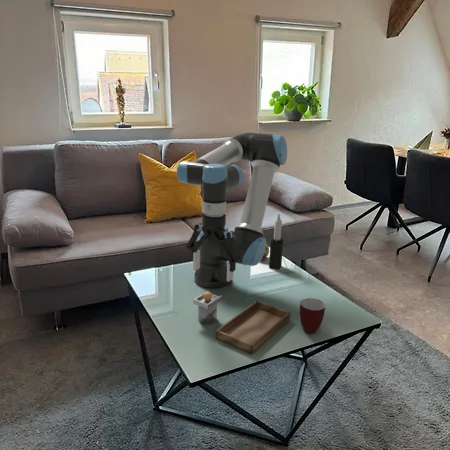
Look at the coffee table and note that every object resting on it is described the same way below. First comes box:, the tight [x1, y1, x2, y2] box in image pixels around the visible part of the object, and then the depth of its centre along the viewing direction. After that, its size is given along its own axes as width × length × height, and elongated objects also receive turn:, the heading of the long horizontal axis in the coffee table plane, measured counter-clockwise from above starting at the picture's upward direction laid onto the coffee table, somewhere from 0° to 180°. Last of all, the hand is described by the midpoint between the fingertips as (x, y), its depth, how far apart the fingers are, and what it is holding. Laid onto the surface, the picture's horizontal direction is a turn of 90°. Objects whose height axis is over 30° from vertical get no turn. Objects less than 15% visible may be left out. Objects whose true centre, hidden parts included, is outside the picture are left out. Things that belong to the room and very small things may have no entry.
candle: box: [268, 213, 284, 271], centre depth 182 cm, size 5×5×25 cm
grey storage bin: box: [192, 290, 223, 325], centre depth 142 cm, size 6×8×8 cm
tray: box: [215, 300, 291, 356], centre depth 138 cm, size 14×25×3 cm, turn 144°
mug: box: [299, 297, 326, 335], centre depth 138 cm, size 11×8×10 cm
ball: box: [203, 291, 213, 301], centre depth 141 cm, size 3×3×3 cm
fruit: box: [261, 243, 270, 260], centre depth 193 cm, size 8×8×8 cm
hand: (212, 274), depth 138 cm, fingers open, 13 cm apart
